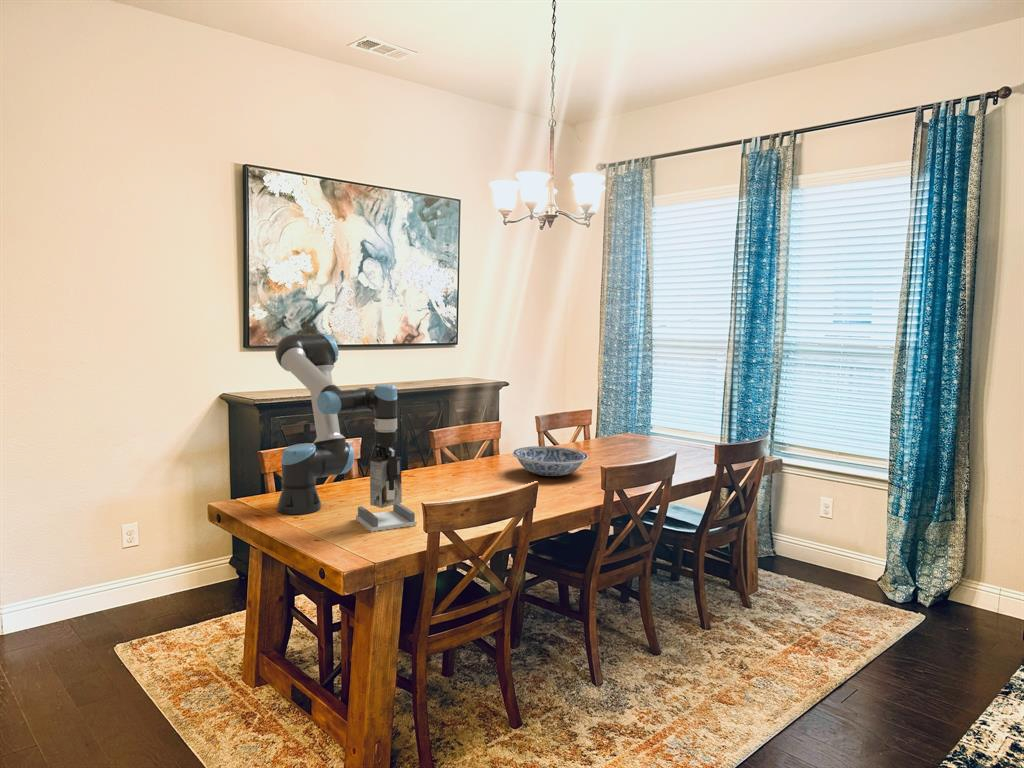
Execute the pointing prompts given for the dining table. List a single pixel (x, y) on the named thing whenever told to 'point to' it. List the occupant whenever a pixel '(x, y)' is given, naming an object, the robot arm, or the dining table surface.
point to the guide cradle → (386, 518)
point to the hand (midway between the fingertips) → (386, 496)
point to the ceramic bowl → (550, 460)
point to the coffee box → (383, 483)
